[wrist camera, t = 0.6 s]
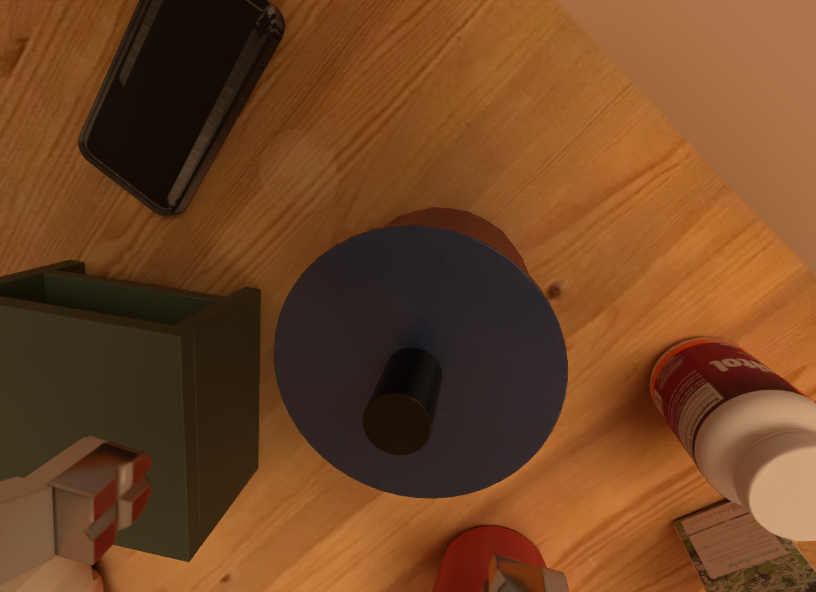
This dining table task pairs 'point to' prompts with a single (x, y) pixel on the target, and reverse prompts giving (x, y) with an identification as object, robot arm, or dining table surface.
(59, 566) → the vase
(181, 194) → the phone
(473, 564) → the flower pot
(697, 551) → the syrup box
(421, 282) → the lid
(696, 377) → the pill bottle
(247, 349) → the green open box
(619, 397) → the dining table surface
